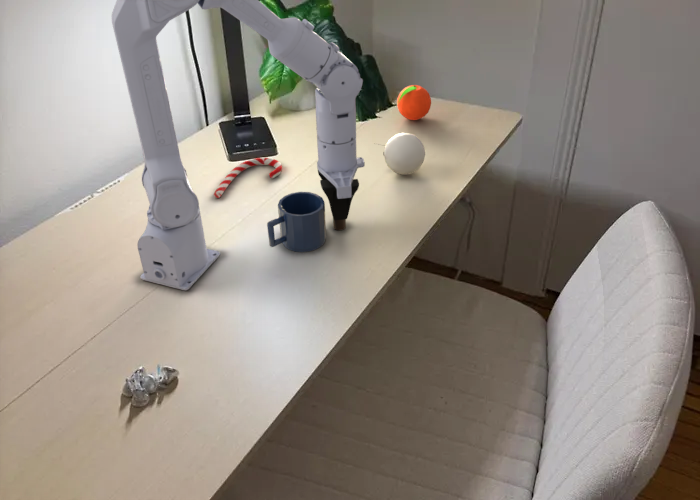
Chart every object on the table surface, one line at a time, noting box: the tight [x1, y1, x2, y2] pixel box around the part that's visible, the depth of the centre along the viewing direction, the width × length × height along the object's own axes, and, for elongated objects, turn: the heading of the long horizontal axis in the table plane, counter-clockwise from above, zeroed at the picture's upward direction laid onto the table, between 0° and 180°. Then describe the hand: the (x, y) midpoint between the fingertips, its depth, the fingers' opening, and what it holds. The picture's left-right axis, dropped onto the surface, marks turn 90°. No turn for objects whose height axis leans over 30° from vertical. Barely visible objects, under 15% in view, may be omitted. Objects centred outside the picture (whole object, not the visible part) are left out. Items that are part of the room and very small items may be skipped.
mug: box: [266, 191, 327, 253], centre depth 103 cm, size 10×7×6 cm
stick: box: [332, 218, 347, 231], centre depth 106 cm, size 2×2×7 cm
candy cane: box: [213, 157, 283, 199], centre depth 120 cm, size 8×1×15 cm
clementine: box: [396, 84, 432, 121], centre depth 137 cm, size 8×7×7 cm
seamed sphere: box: [373, 132, 426, 175], centre depth 120 cm, size 10×7×7 cm
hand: (339, 214), depth 106 cm, fingers closed on stick, 2 cm apart
